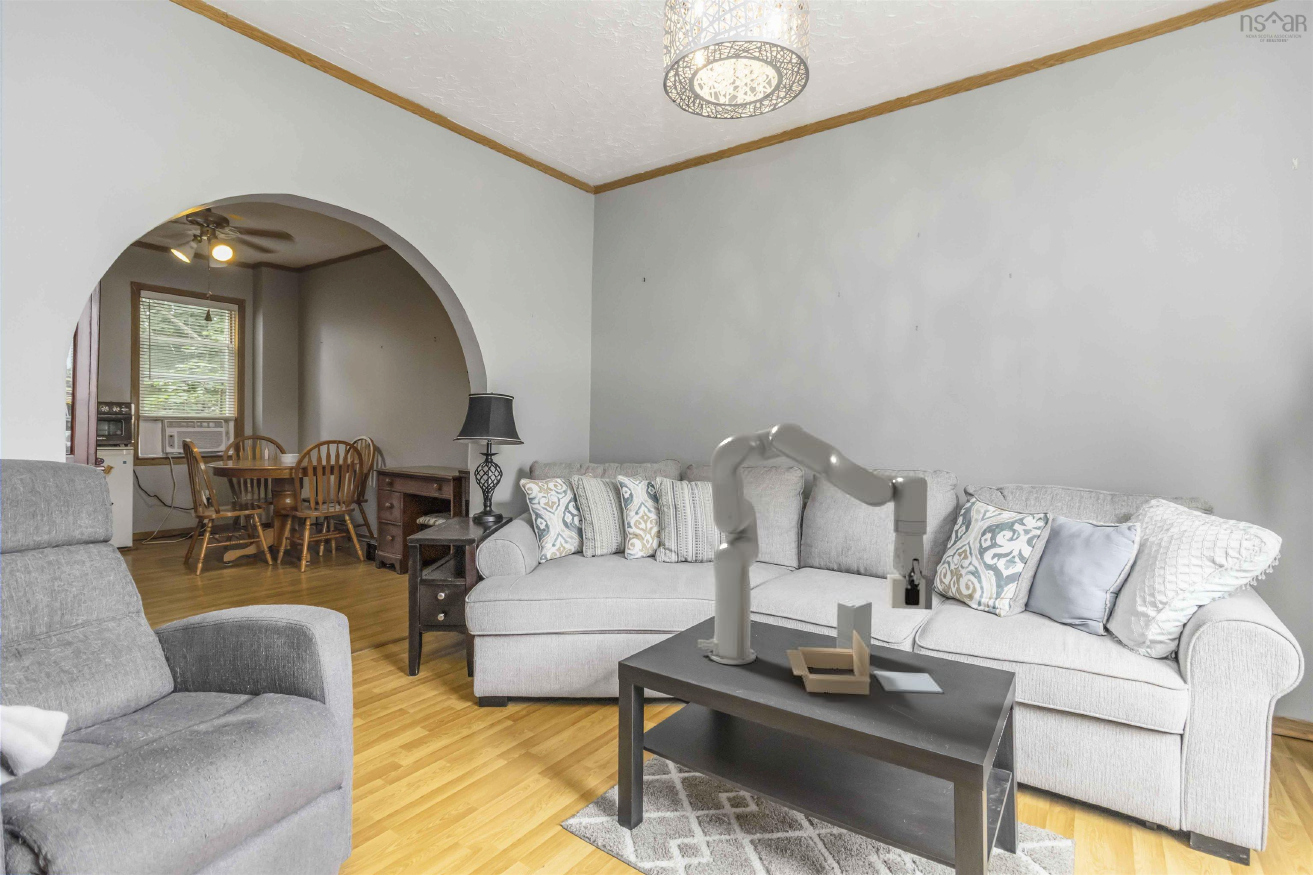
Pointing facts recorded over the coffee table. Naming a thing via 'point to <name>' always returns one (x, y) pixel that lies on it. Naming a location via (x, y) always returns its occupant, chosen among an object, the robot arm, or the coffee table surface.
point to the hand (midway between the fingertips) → (908, 600)
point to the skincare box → (853, 622)
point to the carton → (833, 659)
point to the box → (897, 592)
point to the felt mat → (907, 682)
